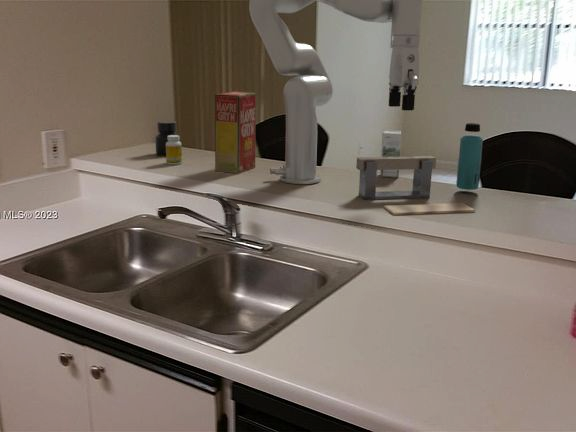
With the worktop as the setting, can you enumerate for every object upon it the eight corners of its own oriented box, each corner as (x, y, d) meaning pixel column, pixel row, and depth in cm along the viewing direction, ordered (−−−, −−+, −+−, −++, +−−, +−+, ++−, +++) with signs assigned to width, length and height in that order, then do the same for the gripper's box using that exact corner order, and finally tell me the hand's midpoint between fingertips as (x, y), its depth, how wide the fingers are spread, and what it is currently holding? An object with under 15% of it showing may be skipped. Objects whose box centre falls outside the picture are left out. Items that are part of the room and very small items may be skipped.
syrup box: (397, 174, 201) (400, 130, 197) (398, 178, 196) (401, 132, 191) (379, 173, 202) (382, 129, 198) (380, 177, 196) (383, 132, 192)
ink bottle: (183, 152, 233) (182, 120, 229) (177, 156, 224) (176, 123, 221) (158, 151, 233) (157, 120, 230) (151, 156, 225) (150, 123, 222)
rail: (359, 170, 167) (360, 159, 166) (356, 168, 170) (356, 157, 169) (435, 168, 171) (436, 157, 170) (430, 166, 174) (431, 155, 173)
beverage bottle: (474, 196, 174) (482, 125, 169) (451, 192, 178) (458, 123, 172) (481, 191, 180) (488, 123, 174) (458, 188, 183) (465, 121, 178)
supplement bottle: (166, 162, 214) (165, 134, 212) (181, 161, 215) (180, 134, 213) (166, 165, 209) (165, 137, 206) (182, 164, 210) (181, 136, 208)
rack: (364, 199, 168) (366, 162, 165) (358, 195, 173) (360, 158, 170) (429, 197, 172) (432, 161, 169) (422, 193, 177) (424, 157, 174)
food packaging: (239, 174, 197) (239, 95, 190) (213, 171, 200) (212, 93, 193) (257, 166, 209) (257, 92, 202) (232, 164, 212) (231, 91, 205)
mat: (393, 215, 154) (393, 212, 154) (384, 207, 160) (384, 205, 160) (474, 212, 158) (475, 209, 158) (462, 205, 165) (462, 202, 164)
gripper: (432, 42, 154) (427, 111, 158) (406, 42, 170) (402, 105, 175) (403, 42, 152) (399, 112, 157) (380, 42, 169) (376, 105, 173)
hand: (400, 108), depth 166 cm, fingers open, 9 cm apart
